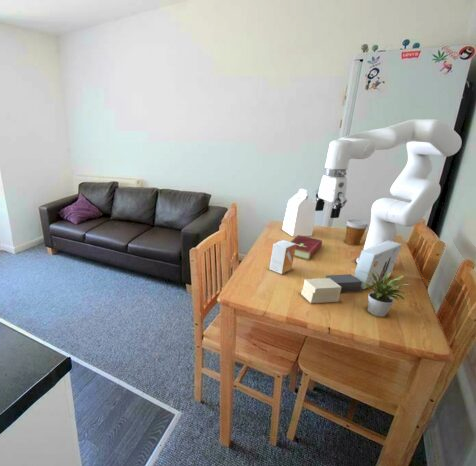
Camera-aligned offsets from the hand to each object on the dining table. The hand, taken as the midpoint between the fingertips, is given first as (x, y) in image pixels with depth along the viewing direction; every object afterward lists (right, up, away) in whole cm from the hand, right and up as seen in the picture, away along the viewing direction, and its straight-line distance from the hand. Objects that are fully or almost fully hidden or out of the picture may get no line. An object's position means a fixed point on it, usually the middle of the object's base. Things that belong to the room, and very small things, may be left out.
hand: (326, 214), depth 128 cm
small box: (-11, -25, +15) cm, 32 cm away
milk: (+20, -8, +58) cm, 61 cm away
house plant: (+6, -37, -16) cm, 40 cm away
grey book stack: (+6, -30, -1) cm, 31 cm away
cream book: (-7, -29, -8) cm, 31 cm away
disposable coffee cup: (+40, -13, +40) cm, 59 cm away
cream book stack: (-7, -33, -7) cm, 35 cm away
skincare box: (+22, -28, +4) cm, 36 cm away
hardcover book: (+10, -17, +34) cm, 39 cm away
